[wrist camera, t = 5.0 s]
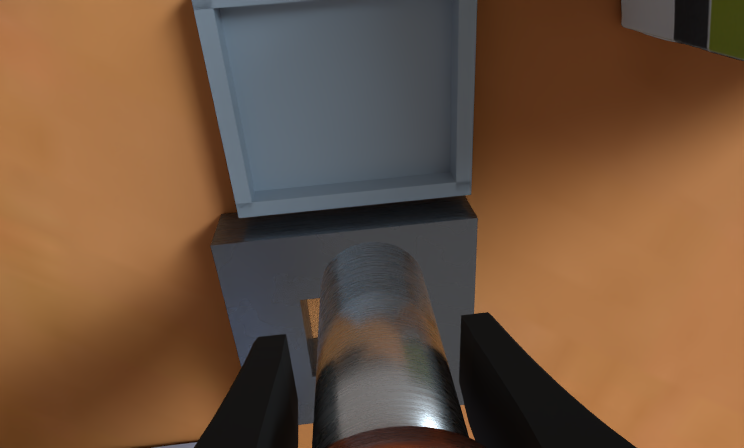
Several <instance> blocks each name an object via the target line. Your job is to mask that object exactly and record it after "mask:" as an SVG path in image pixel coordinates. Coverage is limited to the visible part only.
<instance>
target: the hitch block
mask: <svg viewBox="0 0 744 448" xmlns="http://www.w3.org/2000/svg"><path fill="white" fill-rule="evenodd" d="M477 222H478V218H477V216H476V214H475V213H474V211H473V209H472V207H471V206H470V204H469V202H468V200H467V199H466V197H465V195H463V196H453V197H443V198H434V199H424V200H414V201H404V202H394V203H384V204H374V205H364V206H354V207H345V208H335V209H325V210H315V211H305V212H295V213H285V214H275V215H265V216H256V217H246V218H239V217H238V213H228V214H221V217H220V219H219V222H218V225H217V228H216V231H215V234H214V237H213V240H212V243H211V250H212V254H213V258H214V261H215V265H216V269H217V273H218V277H219V281H220V285H221V289H222V293H223V297H224V301H225V305H226V309H227V312H228V316H229V320H230V324H231V328H232V332H233V336H234V340H235V344H236V348H237V352H238V356H239V360H240V364H241V367H242V366H243V364H244V362H245V360H246V358H247V356H248V354H249V352H250V349H251V347H252V345H253V343H254V341H255V340H256V339H257V338H258V337H261V336H271V335H280V334H286V336H287V342H288V347H289V353H290V358H291V364H292V369H293V375H294V380H295V386H296V391H297V396H298V425H301V424H309V423H313V422H314V404H315V385H316V367H317V348H318V338H313V336H312V330H311V323H310V317H309V311H308V304H307V299H314V298H320V292H321V280H322V277H323V273H324V271H325V269H326V267H327V266H328V264H329V263H330V262H331V260H332V259H333V258H334V257H335V256H337V255H338V254H339V253H340V252H342V251H343V250H345V249H347V248H349V247H351V246H354V245H357V244H361V243H366V242H383V243H388V244H392V245H395V246H397V247H399V248H401V249H403V250H405V251H406V252H407V253H409V254H410V255H411V256H412V257H413V258H414V259H415V260H416V262H417V263H418V265H419V266H420V269H421V271H422V274H423V277H424V281H425V284H426V288H427V291H428V295H429V298H430V302H431V305H432V309H433V312H434V316H435V320H436V323H437V327H438V330H439V334H440V337H441V341H442V344H443V348H444V351H445V355H446V358H447V362H448V365H449V369H450V372H451V376H452V379H453V383H454V386H455V390H456V393H457V397H458V400H459V404H460V405H464V401H463V396H462V392H461V388H460V384H459V363H460V333H461V315H468V314H474V298H475V272H476V247H477Z"/></svg>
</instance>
